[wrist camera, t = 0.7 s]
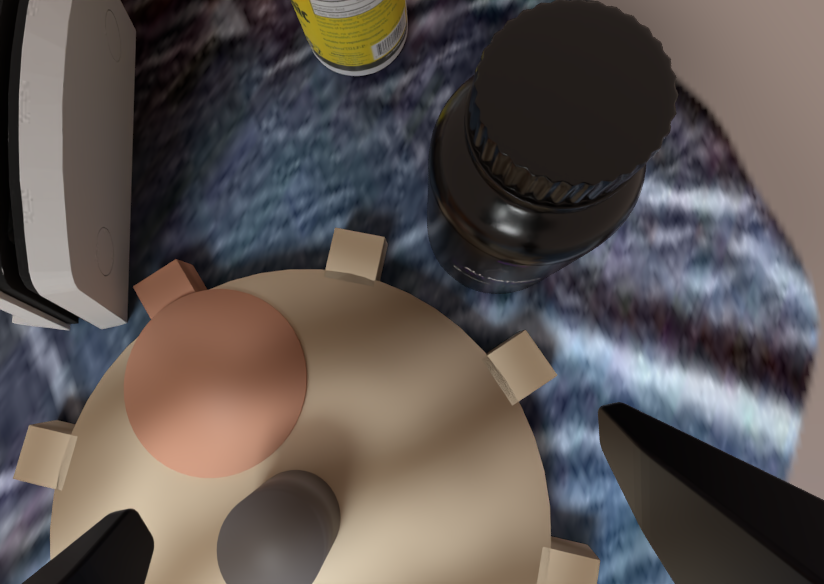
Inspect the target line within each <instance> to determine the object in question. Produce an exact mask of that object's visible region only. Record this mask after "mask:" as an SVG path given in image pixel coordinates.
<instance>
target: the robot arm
mask: <svg viewBox="0 0 824 584" xmlns="http://www.w3.org/2000/svg"><path fill="white" fill-rule="evenodd" d="M598 420H599V436H600V444H601V448H602V451H603V453H604V455H605V457H606V459H607V461H608V463H609V465H610V467H611V469H612V471H613V473H614V475H615V478H616V480H617V482H618V484H619V486H620V488H621V490H622V492H623V494H624V496H625V498H626V500H627V502H628V504H629V506H630V508H631V510H632V512H633V514H634V516H635V518H636V520H637V522H638V524H639V526H640V528H641V530H642V531H643V533H644V535H645V536H646V538H647V540H648V541H649V543H650V545H651V546H652V548H653V550H654V551H655V553H656V554H657V556H658V558H659V559H660V561H661V562H662V564H663V565H664V567H665V569H666V570H667V572H668V573H669V575H670V577H671V578H672V580H673V581H674V583H675V584H824V500H823V499H820V498H818V497H816V496H814V495H812V494H810V493H808V492H806V491H804V490H802V489H800V488H798V487H796V486H794V485H792V484H790V483H787V482H785V481H783V480H781V479H779V478H777V477H775V476H773V475H771V474H769V473H767V472H765V471H763V470H761V469H759V468H757V467H754V466H752V465H750V464H748V463H746V462H744V461H742V460H740V459H738V458H736V457H734V456H732V455H730V454H728V453H726V452H724V451H721V450H719V449H717V448H715V447H713V446H711V445H709V444H707V443H705V442H703V441H701V440H699V439H697V438H695V437H693V436H691V435H688V434H686V433H684V432H682V431H680V430H678V429H676V428H674V427H672V426H670V425H668V424H666V423H664V422H662V421H660V420H657V419H655V418H653V417H651V416H649V415H647V414H645V413H643V412H641V411H639V410H637V409H635V408H633V407H631V406H629V405H627V404H624V403H621V402H617V403H612V404H607V405H603V406H601V407H600V408H599V410H598ZM153 552H154V539H153V536H152V534H151V533H150V531H149V529H148V528H147V526H146V524H145V523H144V521H143V519H142V518H141V516H140V514H139V513H138V512H137V511H136V510H135V509H131V508H128V509H124V510H119V511H115V512H112V513H109V514H108V515H106V516H105V517H104V518H103V519H101V520H100V521H99V522H98V523H96V524H95V525H94V526H93V527H91V528H90V529H89V530H88V531H86V532H85V533H84V534H83V535H81V536H80V537H79V538H78V539H77V540H75V541H74V542H73V543H72V544H70V545H69V546H68V547H67V548H65V549H64V550H63V551H62V552H60V553H59V554H58V555H57V556H55V557H54V558H53V559H52V560H50V561H49V562H48V563H47V564H46V565H44V566H43V567H42V568H41V569H39V570H38V571H37V572H36V573H34V574H33V575H32V576H31V577H29V578H28V579H27V580H26V581H24V582H23V583H22V584H145V581H146V577H147V574H148V570H149V566H150V563H151V559H152V555H153Z"/></svg>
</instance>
